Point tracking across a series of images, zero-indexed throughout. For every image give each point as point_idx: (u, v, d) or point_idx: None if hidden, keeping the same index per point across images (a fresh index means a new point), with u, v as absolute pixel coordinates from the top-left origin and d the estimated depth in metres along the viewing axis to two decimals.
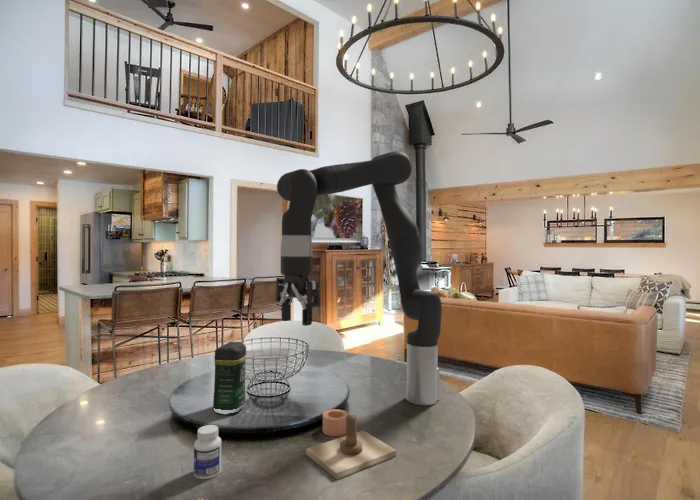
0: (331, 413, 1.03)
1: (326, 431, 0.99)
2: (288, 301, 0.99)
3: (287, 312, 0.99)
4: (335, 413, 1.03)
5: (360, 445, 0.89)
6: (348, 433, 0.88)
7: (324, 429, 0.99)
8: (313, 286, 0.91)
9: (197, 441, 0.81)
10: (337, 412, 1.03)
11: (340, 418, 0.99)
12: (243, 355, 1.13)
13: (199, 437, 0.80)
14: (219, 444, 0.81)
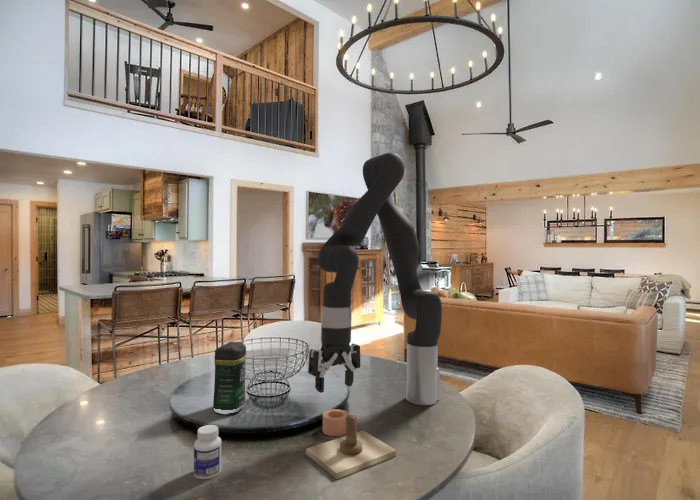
0: (331, 413, 1.03)
1: (326, 431, 0.99)
2: None
3: None
4: (335, 413, 1.03)
5: (360, 445, 0.89)
6: (348, 433, 0.88)
7: (324, 429, 0.99)
8: None
9: (197, 441, 0.81)
10: (337, 412, 1.03)
11: (340, 418, 0.99)
12: (243, 355, 1.13)
13: (199, 437, 0.80)
14: (219, 444, 0.81)
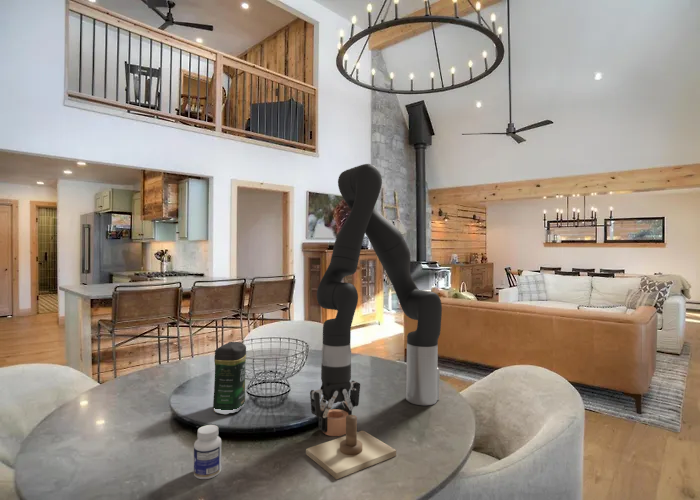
0: (331, 413, 1.03)
1: None
2: (323, 411, 1.00)
3: None
4: (335, 413, 1.03)
5: (360, 445, 0.89)
6: (348, 433, 0.88)
7: None
8: None
9: (197, 441, 0.81)
10: (337, 412, 1.03)
11: (340, 418, 0.99)
12: (243, 355, 1.13)
13: (199, 437, 0.80)
14: (219, 444, 0.81)
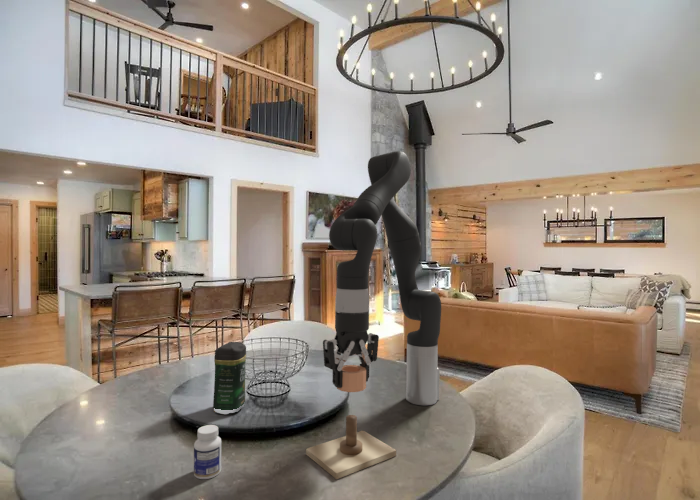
0: (346, 368, 0.91)
1: None
2: None
3: None
4: (350, 369, 0.91)
5: (360, 445, 0.89)
6: (348, 433, 0.88)
7: None
8: None
9: (197, 441, 0.81)
10: (353, 367, 0.91)
11: (357, 372, 0.87)
12: (243, 355, 1.13)
13: (199, 437, 0.80)
14: (219, 444, 0.81)
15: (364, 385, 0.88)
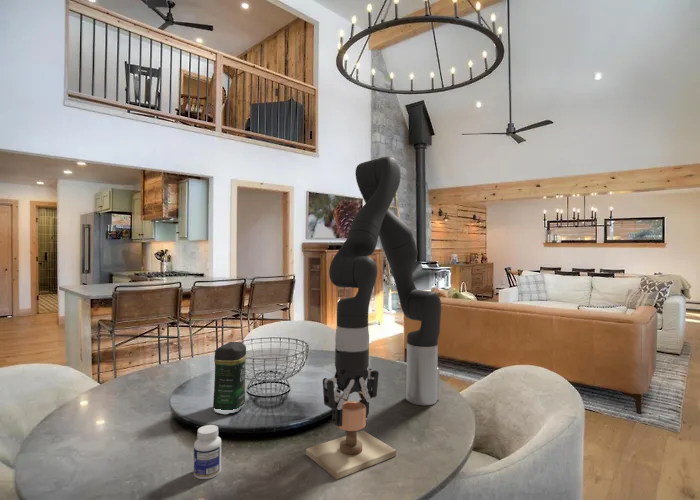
0: (346, 405, 0.91)
1: None
2: None
3: None
4: (350, 405, 0.91)
5: (360, 445, 0.89)
6: (348, 433, 0.88)
7: None
8: None
9: (197, 441, 0.81)
10: (352, 404, 0.91)
11: (357, 410, 0.87)
12: (243, 355, 1.13)
13: (199, 437, 0.80)
14: (219, 444, 0.81)
15: (364, 423, 0.88)
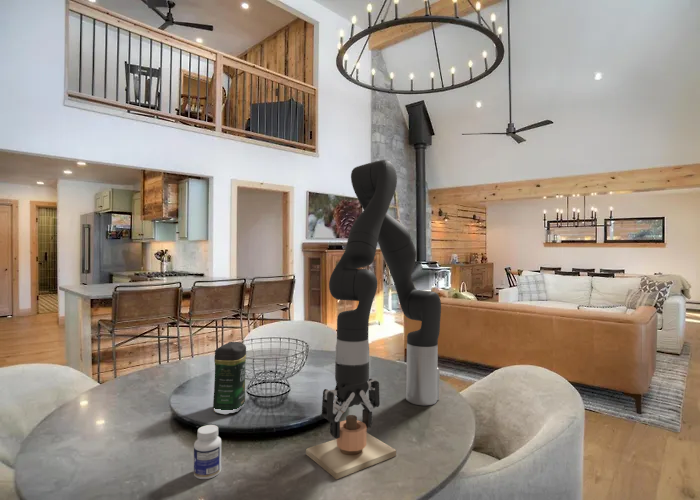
0: None
1: (341, 445, 0.87)
2: None
3: None
4: None
5: None
6: None
7: (339, 443, 0.88)
8: None
9: (197, 441, 0.81)
10: None
11: (357, 430, 0.87)
12: (243, 355, 1.13)
13: (199, 437, 0.80)
14: (219, 444, 0.81)
15: (364, 443, 0.88)
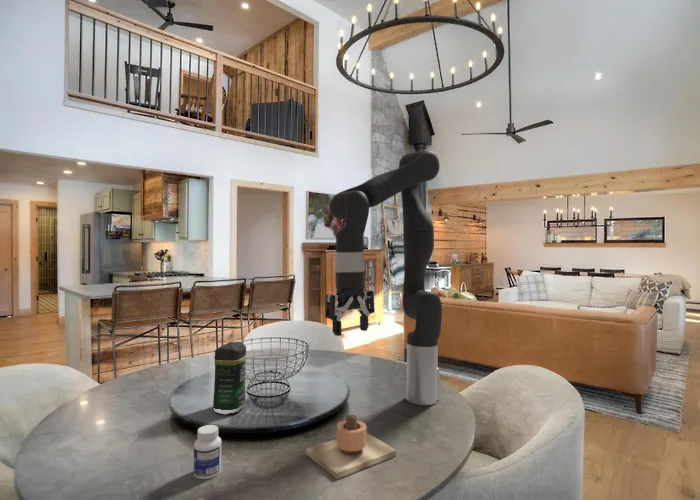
0: None
1: (341, 445, 0.87)
2: None
3: None
4: None
5: None
6: None
7: (339, 443, 0.88)
8: None
9: (197, 441, 0.81)
10: None
11: (357, 430, 0.87)
12: (243, 355, 1.13)
13: (199, 437, 0.80)
14: (219, 444, 0.81)
15: (364, 443, 0.88)
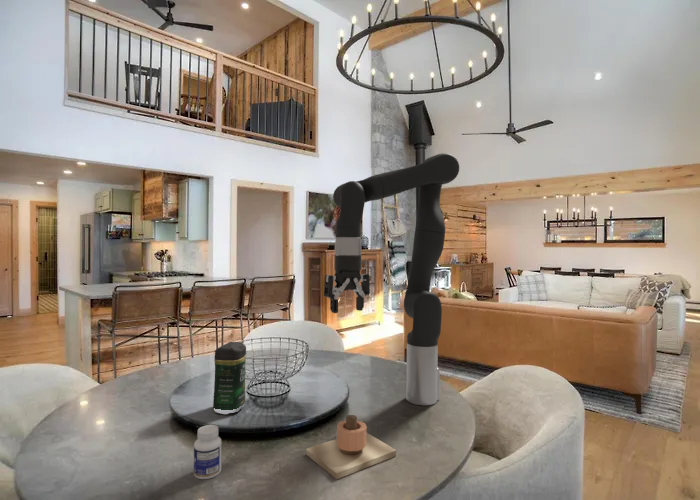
0: None
1: (341, 445, 0.87)
2: None
3: None
4: None
5: None
6: None
7: (339, 443, 0.88)
8: None
9: (197, 441, 0.81)
10: None
11: (357, 430, 0.87)
12: (243, 355, 1.13)
13: (199, 437, 0.80)
14: (219, 444, 0.81)
15: (364, 443, 0.88)
